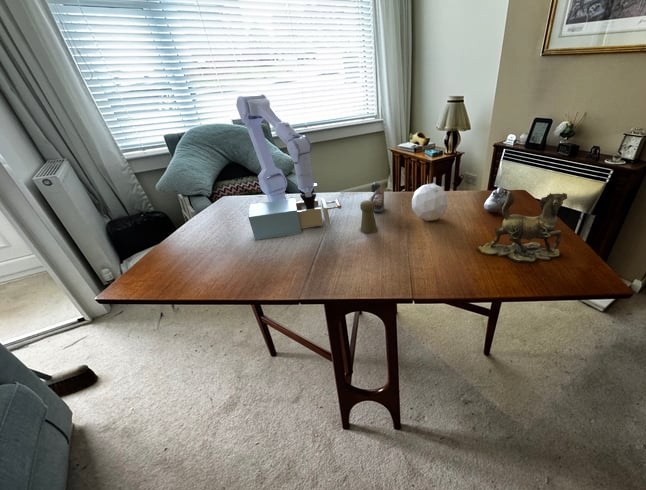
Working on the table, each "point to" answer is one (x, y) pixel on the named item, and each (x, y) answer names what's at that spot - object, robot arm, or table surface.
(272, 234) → the cabinet
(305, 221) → the drawer
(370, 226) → the cork
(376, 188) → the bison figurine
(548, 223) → the figurine
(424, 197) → the geodesic sphere
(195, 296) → the table surface
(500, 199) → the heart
